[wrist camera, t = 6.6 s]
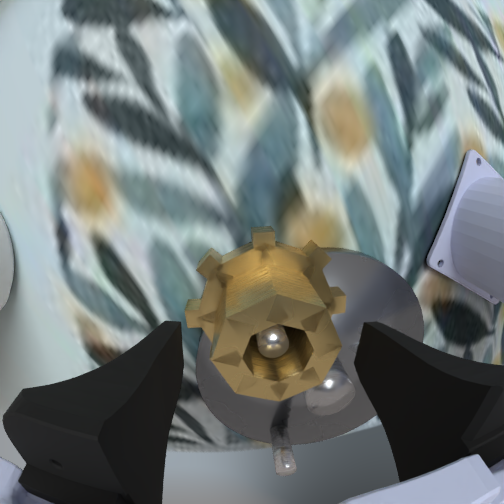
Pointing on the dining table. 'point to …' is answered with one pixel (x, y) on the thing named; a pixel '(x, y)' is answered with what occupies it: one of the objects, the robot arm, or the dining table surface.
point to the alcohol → (5, 263)
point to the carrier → (339, 376)
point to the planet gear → (268, 315)
